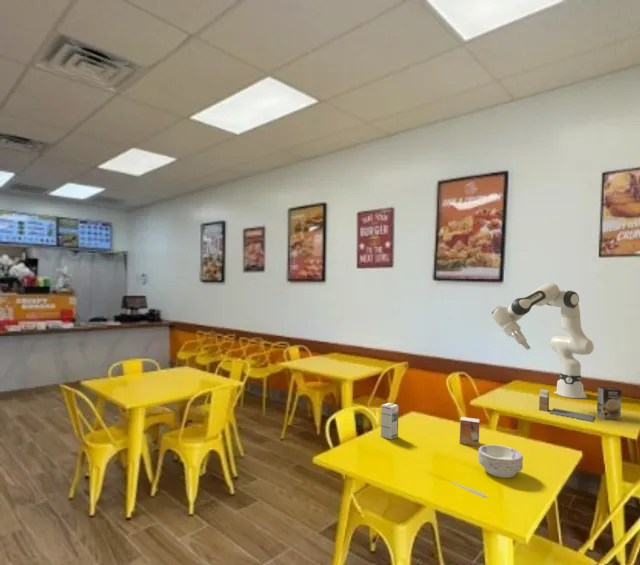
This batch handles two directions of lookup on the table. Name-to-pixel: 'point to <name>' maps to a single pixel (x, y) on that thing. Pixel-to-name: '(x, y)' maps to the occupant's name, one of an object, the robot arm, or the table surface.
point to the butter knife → (471, 490)
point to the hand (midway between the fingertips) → (529, 348)
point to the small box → (469, 431)
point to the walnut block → (544, 400)
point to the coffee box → (609, 403)
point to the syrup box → (389, 420)
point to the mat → (572, 414)
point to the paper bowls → (500, 460)
